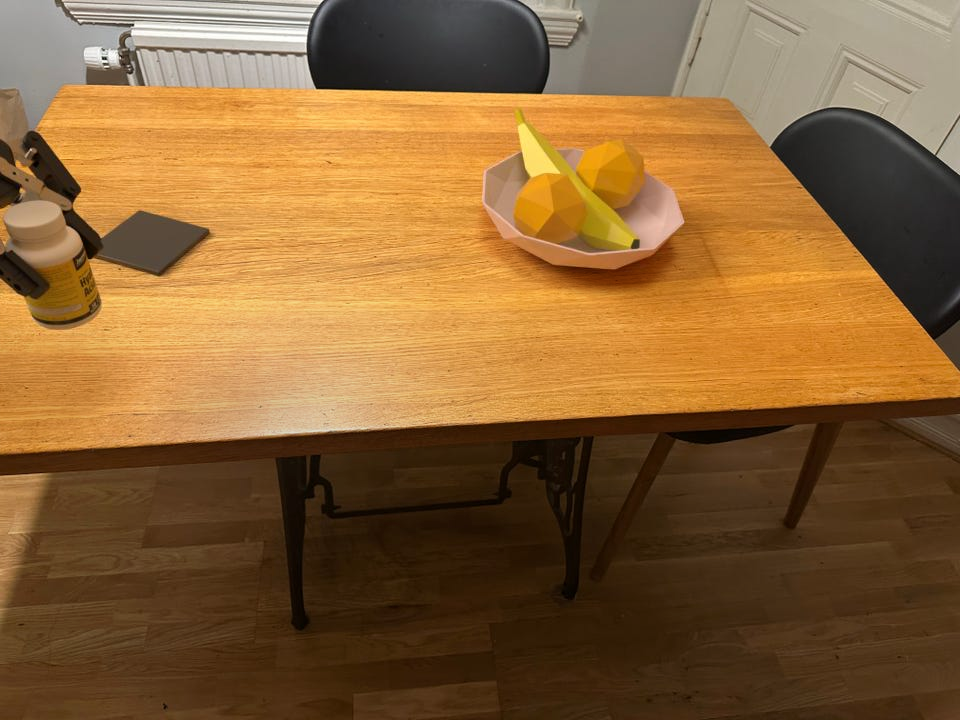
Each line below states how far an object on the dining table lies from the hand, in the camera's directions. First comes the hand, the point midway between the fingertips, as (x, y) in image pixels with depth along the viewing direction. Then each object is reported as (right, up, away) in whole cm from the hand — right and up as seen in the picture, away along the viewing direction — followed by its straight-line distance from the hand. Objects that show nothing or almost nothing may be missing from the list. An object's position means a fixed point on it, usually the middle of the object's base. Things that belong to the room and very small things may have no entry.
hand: (70, 272), depth 57 cm
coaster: (-7, +7, +28) cm, 29 cm away
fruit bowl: (+46, +11, +39) cm, 61 cm away
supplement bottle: (-2, -3, +4) cm, 5 cm away
